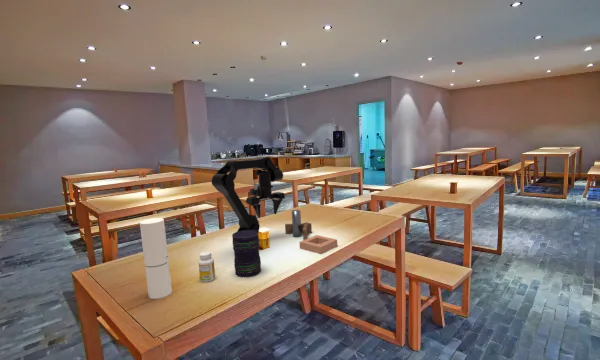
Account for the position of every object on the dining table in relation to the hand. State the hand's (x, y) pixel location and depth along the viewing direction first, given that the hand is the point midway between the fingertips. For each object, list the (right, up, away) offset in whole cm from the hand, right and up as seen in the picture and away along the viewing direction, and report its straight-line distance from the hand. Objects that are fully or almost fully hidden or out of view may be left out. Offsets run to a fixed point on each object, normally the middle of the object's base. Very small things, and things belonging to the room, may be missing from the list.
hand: (267, 215), depth 152 cm
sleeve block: (+24, -13, -9) cm, 29 cm away
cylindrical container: (-31, -21, -45) cm, 59 cm away
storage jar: (-4, -18, -32) cm, 37 cm away
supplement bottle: (-18, -19, -36) cm, 44 cm away
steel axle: (+14, -11, +9) cm, 20 cm away
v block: (+17, -11, +11) cm, 23 cm away
